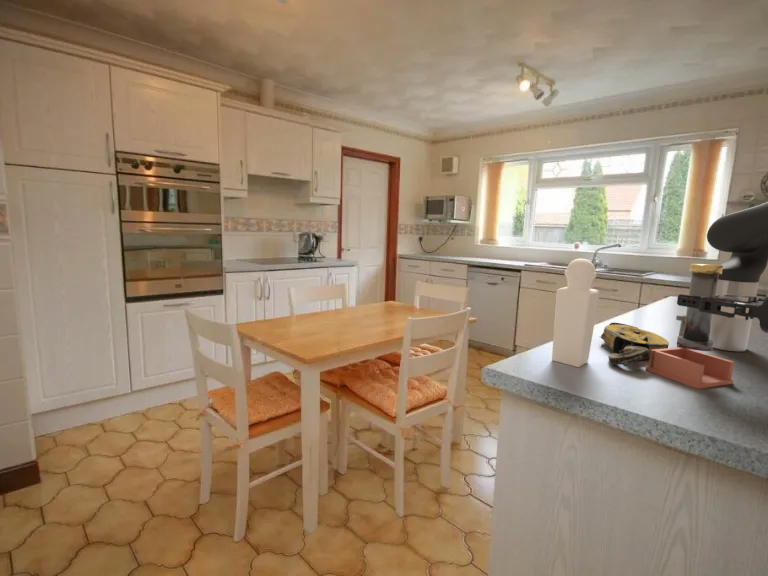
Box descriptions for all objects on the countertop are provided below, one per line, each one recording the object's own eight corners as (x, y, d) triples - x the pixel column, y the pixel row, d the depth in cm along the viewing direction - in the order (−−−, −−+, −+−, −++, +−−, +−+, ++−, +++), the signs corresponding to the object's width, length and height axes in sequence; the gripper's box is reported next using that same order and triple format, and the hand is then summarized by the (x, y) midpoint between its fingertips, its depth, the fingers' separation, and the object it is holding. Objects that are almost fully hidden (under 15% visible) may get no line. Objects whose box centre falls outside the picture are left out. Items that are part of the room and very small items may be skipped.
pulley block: (590, 334, 83) (610, 313, 107) (582, 359, 85) (604, 333, 109) (670, 359, 75) (673, 331, 99) (660, 387, 77) (665, 352, 101)
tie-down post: (688, 342, 81) (700, 263, 79) (719, 350, 76) (733, 266, 74) (669, 343, 79) (681, 263, 77) (700, 352, 74) (713, 266, 72)
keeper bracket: (677, 363, 87) (685, 314, 85) (736, 383, 76) (746, 327, 75) (640, 368, 83) (648, 316, 81) (697, 388, 73) (707, 330, 71)
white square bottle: (591, 362, 85) (604, 259, 82) (580, 369, 81) (593, 260, 77) (560, 354, 90) (571, 256, 86) (548, 360, 85) (559, 257, 82)
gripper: (824, 291, 67) (703, 279, 82) (794, 295, 60) (668, 281, 75) (815, 334, 68) (698, 314, 83) (785, 343, 61) (662, 320, 76)
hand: (684, 298), depth 79 cm, fingers closed on tie-down post, 4 cm apart
